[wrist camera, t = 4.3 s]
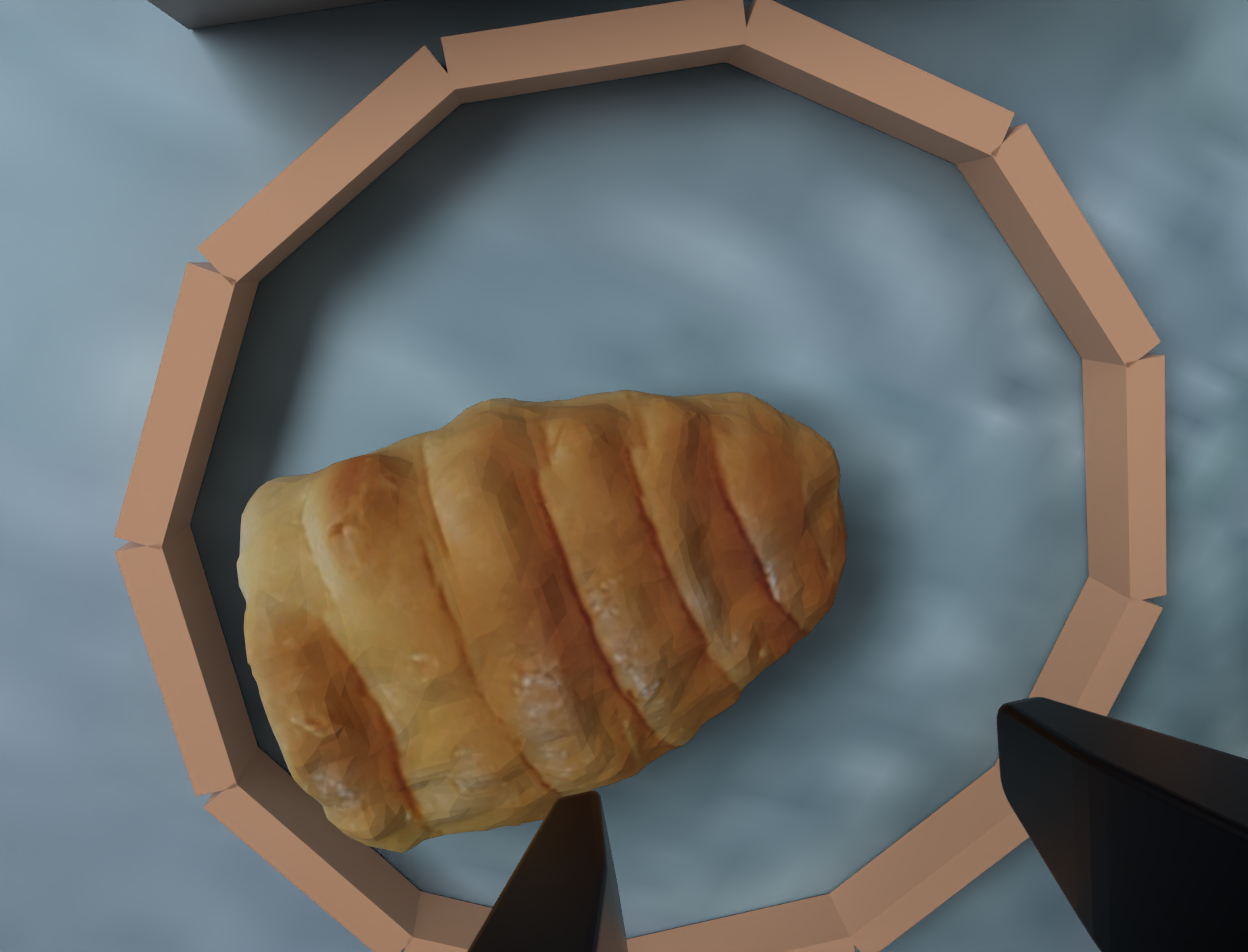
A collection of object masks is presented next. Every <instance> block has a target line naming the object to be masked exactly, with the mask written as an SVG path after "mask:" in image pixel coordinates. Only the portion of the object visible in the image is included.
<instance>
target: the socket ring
mask: <svg viewBox="0 0 1248 952" xmlns="http://www.w3.org/2000/svg"><path fill="white" fill-rule="evenodd" d="M441 41H442V46H443V51H444V56H445V61H446V66H447V71H448V73H447V72H446V71H445V70H444V68H443V67H442V66H441V65H440V64H439V62H438V61H437V60H436V59H435V57H434V56H433V55H432V54H431V52H430V51H429V50H428V49H427V47H426V46H425V45H424V46H423V47H422V48H421V49H419V50H418V51H417V52H416V53H415V54H414V55H413V56H412V57H410V58H409V59H408V60H407V61H406V62H405V63H404V64H403V65H401V66H400V67H399V68H398V69H397V70H396V71H395V72H394V73H392V74H391V75H390V76H389V77H388V78H387V79H386V80H385V81H383V82H382V83H381V84H380V85H379V86H378V87H377V88H376V89H375V90H373V91H372V92H371V93H370V94H369V95H368V96H367V97H366V98H364V99H363V100H362V101H361V102H360V103H359V104H358V105H357V106H355V107H354V108H353V109H352V110H351V111H350V112H349V113H348V114H346V115H345V116H344V117H343V118H342V119H341V120H340V121H339V122H337V123H336V124H335V125H334V126H333V127H332V128H331V129H330V130H328V131H327V132H326V133H325V134H324V135H323V136H322V137H321V138H319V139H318V140H317V141H316V142H315V143H314V144H313V145H312V146H310V147H309V148H308V149H307V150H306V151H305V152H304V153H303V154H302V155H300V156H299V157H298V158H297V159H296V160H295V161H294V162H293V163H291V164H290V165H289V166H288V167H287V168H286V169H285V170H284V171H282V172H281V173H280V174H279V175H278V176H277V177H276V178H275V179H273V180H272V181H271V182H270V183H269V184H268V185H267V186H266V187H264V188H263V189H262V190H261V191H260V192H259V193H258V194H257V195H255V196H254V197H253V198H252V199H251V200H250V201H249V202H248V203H246V204H245V205H244V206H243V207H242V208H241V209H240V210H239V211H237V212H236V213H235V214H234V215H233V216H232V217H231V218H230V219H229V220H227V221H226V222H225V223H224V224H223V225H222V226H221V227H220V228H218V229H217V230H216V231H215V232H214V233H213V234H212V235H211V236H209V237H208V238H207V239H206V240H205V241H204V242H203V243H202V244H200V245H199V246H198V247H197V249H198V250H199V251H200V252H201V253H202V254H203V255H204V257H205V258H206V259H207V260H208V261H209V262H210V263H187V267H186V270H185V274H184V278H183V281H182V285H181V289H180V293H179V296H178V300H177V304H176V308H175V311H174V315H173V319H172V323H171V326H170V330H169V334H168V338H167V341H166V345H165V349H164V353H163V356H162V360H161V364H160V367H159V371H158V375H157V379H156V382H155V386H154V390H153V394H152V397H151V401H150V405H149V409H148V412H147V416H146V420H145V424H144V427H143V431H142V435H141V438H140V442H139V446H138V450H137V453H136V457H135V461H134V465H133V468H132V472H131V476H130V480H129V483H128V487H127V491H126V495H125V498H124V502H123V506H122V510H121V513H120V517H119V521H118V524H117V528H116V532H115V536H114V537H118V538H121V539H125V540H128V541H130V542H128V543H127V544H125V545H124V546H123V547H121V548H120V549H118V550H117V551H116V552H115V554H116V557H117V560H118V563H119V566H120V569H121V572H122V575H123V578H124V581H125V584H126V587H127V590H128V593H129V596H130V599H131V602H132V606H133V609H134V612H135V615H136V618H137V621H138V624H139V627H140V630H141V633H142V636H143V639H144V642H145V645H146V648H147V651H148V654H149V657H150V660H151V663H152V666H153V669H154V672H155V675H156V678H157V681H158V684H159V687H160V690H161V693H162V696H163V699H164V702H165V705H166V708H167V711H168V714H169V717H170V720H171V723H172V726H173V729H174V732H175V735H176V738H177V741H178V744H179V747H180V750H181V753H182V756H183V759H184V762H185V765H186V768H187V771H188V774H189V777H190V780H191V783H192V786H193V789H194V793H195V796H198V795H203V794H208V793H212V795H211V796H210V798H209V800H208V801H207V803H206V805H205V807H204V808H205V809H206V810H207V811H208V812H209V813H211V814H212V815H213V816H214V817H215V818H217V819H218V820H219V821H220V822H221V823H222V824H224V825H225V826H226V827H227V828H228V829H230V830H231V831H232V832H233V833H234V834H235V835H237V836H238V837H239V838H240V839H241V840H242V841H244V842H245V843H246V844H247V845H248V846H250V847H251V848H252V849H253V850H254V851H255V852H257V853H258V854H259V855H260V856H261V857H263V858H264V859H265V860H266V861H267V862H268V863H270V864H271V865H272V866H273V867H274V868H275V869H277V870H278V871H279V872H280V873H281V874H283V875H284V876H285V877H286V878H287V879H288V880H290V881H291V882H292V883H293V884H294V885H296V886H297V887H298V888H299V889H300V890H301V891H303V892H304V893H305V894H306V895H307V896H308V897H310V898H311V899H312V900H313V901H314V902H316V903H317V904H318V905H319V906H320V907H321V908H323V909H324V910H325V911H326V912H327V913H329V914H330V915H331V916H332V917H333V918H334V919H336V920H337V921H338V922H339V923H340V924H341V925H343V926H344V927H345V928H346V929H347V930H349V931H350V932H351V933H352V934H353V935H354V936H356V937H357V938H358V939H359V940H360V941H362V942H363V943H364V944H365V945H366V946H367V947H369V948H370V949H371V950H372V951H373V952H400V951H401V952H467V951H468V949H469V947H470V946H471V944H472V942H473V941H474V939H475V937H476V935H477V934H478V932H479V930H480V929H481V927H482V925H483V923H484V922H485V920H486V918H487V917H488V915H489V913H490V911H491V910H492V908H490V907H485V906H481V905H477V904H473V903H468V902H464V901H460V900H456V899H451V898H447V897H443V896H439V895H434V894H430V893H426V892H422V891H420V890H418V889H417V888H416V887H415V886H414V885H413V884H412V883H411V882H410V881H408V880H407V879H406V878H405V877H404V876H403V875H402V874H401V873H399V872H398V871H397V870H396V869H395V868H394V867H393V866H392V865H390V864H389V863H388V862H387V861H386V860H385V859H384V858H383V857H381V856H380V855H379V854H378V853H377V852H376V851H375V850H374V849H372V848H371V847H370V846H366V845H365V844H363V843H361V842H359V841H356V840H354V839H351V838H350V837H348V836H347V835H345V834H344V833H343V832H342V831H341V830H340V829H338V828H337V827H336V826H335V825H334V824H333V823H331V822H330V821H329V820H328V819H327V817H326V814H325V812H324V809H323V806H322V805H321V804H320V803H319V802H318V801H317V800H316V799H315V798H313V797H312V796H310V795H309V794H308V793H306V792H305V791H304V790H303V789H302V788H301V787H300V786H299V785H298V784H297V783H296V781H295V780H294V779H293V777H292V776H290V775H289V774H288V773H287V772H286V771H285V770H284V769H283V768H281V767H280V766H279V765H278V764H277V763H276V762H275V761H274V760H272V759H271V758H270V757H269V756H268V755H267V754H266V753H265V752H263V751H262V750H261V749H260V748H259V747H258V746H257V743H256V739H255V736H254V733H253V729H252V726H251V723H250V720H249V716H248V713H247V710H246V707H245V703H244V700H243V697H242V694H241V690H240V687H239V684H238V680H237V677H236V674H235V671H234V667H233V664H232V661H231V658H230V654H229V651H228V648H227V644H226V641H225V638H224V635H223V631H222V628H221V625H220V622H219V618H218V615H217V612H216V608H215V605H214V602H213V599H212V595H211V592H210V589H209V586H208V582H207V579H206V576H205V573H204V569H203V566H202V563H201V559H200V556H199V553H198V550H197V546H196V543H195V540H194V537H193V533H192V530H191V527H190V523H191V519H192V516H193V512H194V509H195V505H196V501H197V498H198V494H199V491H200V487H201V484H202V480H203V477H204V473H205V470H206V466H207V463H208V459H209V456H210V452H211V449H212V445H213V442H214V438H215V435H216V431H217V428H218V424H219V421H220V417H221V414H222V410H223V406H224V403H225V399H226V396H227V392H228V389H229V385H230V382H231V378H232V375H233V371H234V368H235V364H236V361H237V357H238V354H239V350H240V347H241V343H242V340H243V336H244V333H245V329H246V326H247V322H248V319H249V315H250V311H251V308H252V304H253V301H254V297H255V294H256V290H257V287H258V283H259V281H260V280H262V279H263V278H264V277H265V276H266V275H267V274H268V273H269V272H271V271H272V270H273V269H274V268H275V267H276V266H277V265H279V264H280V263H281V262H282V261H283V260H284V259H285V258H286V257H288V256H289V255H290V254H291V253H292V252H293V251H294V250H296V249H297V248H298V247H299V246H300V245H301V244H302V243H304V242H305V241H306V240H307V239H308V238H309V237H310V236H311V235H313V234H314V233H315V232H316V231H317V230H318V229H319V228H321V227H322V226H323V225H324V224H325V223H326V222H327V221H328V220H330V219H331V218H332V217H333V216H334V215H335V214H336V213H338V212H339V211H340V210H341V209H342V208H343V207H344V206H346V205H347V204H348V203H349V202H350V201H351V200H352V199H353V198H355V197H356V196H357V195H358V194H359V193H360V192H361V191H363V190H364V189H365V188H366V187H367V186H368V185H369V184H370V183H372V182H373V181H374V180H375V179H376V178H377V177H378V176H380V175H381V174H382V173H383V172H384V171H385V170H386V169H387V168H389V167H390V166H391V165H392V164H393V163H394V162H395V161H397V160H398V159H399V158H400V157H401V156H402V155H403V154H405V153H406V152H407V151H408V150H409V149H410V148H411V147H412V146H414V145H415V144H416V143H417V142H418V141H419V140H420V139H422V138H423V137H424V136H425V135H426V134H427V133H428V132H429V131H431V130H432V129H433V128H434V127H435V126H436V125H437V124H439V123H440V122H441V121H442V120H443V119H444V118H445V117H446V116H448V115H449V114H450V113H451V112H452V111H453V110H454V109H456V108H457V107H458V106H459V105H460V104H463V103H469V102H475V101H482V100H488V99H495V98H501V97H507V96H514V95H520V94H526V93H533V92H539V91H546V90H552V89H558V88H565V87H571V86H577V85H584V84H590V83H596V82H603V81H609V80H616V79H622V78H628V77H635V76H641V75H647V74H654V73H660V72H667V71H673V70H679V69H686V68H692V67H698V66H705V65H711V64H717V63H724V62H727V63H729V64H731V65H733V66H736V67H738V68H740V69H742V70H745V71H747V72H749V73H751V74H754V75H756V76H758V77H760V78H763V79H765V80H767V81H769V82H772V83H774V84H776V85H778V86H781V87H783V88H785V89H787V90H790V91H792V92H794V93H796V94H799V95H801V96H803V97H805V98H808V99H810V100H812V101H814V102H817V103H819V104H821V105H823V106H826V107H828V108H830V109H832V110H835V111H837V112H839V113H841V114H844V115H846V116H848V117H850V118H853V119H855V120H857V121H859V122H862V123H864V124H866V125H868V126H871V127H873V128H875V129H877V130H880V131H882V132H884V133H886V134H889V135H891V136H893V137H895V138H898V139H900V140H902V141H904V142H907V143H909V144H911V145H913V146H915V147H918V148H920V149H922V150H924V151H927V152H929V153H931V154H933V155H936V156H938V157H940V158H942V159H945V160H947V161H949V162H951V163H954V164H956V165H957V167H958V169H959V170H960V172H961V173H962V175H963V176H964V178H965V179H966V181H967V182H968V184H969V185H970V187H971V189H972V190H973V192H974V193H975V195H976V196H977V198H978V199H979V201H980V202H981V204H982V205H983V207H984V209H985V210H986V212H987V213H988V215H989V216H990V218H991V219H992V221H993V222H994V224H995V225H996V227H997V229H998V230H999V232H1000V233H1001V235H1002V236H1003V238H1004V239H1005V241H1006V242H1007V244H1008V245H1009V247H1010V249H1011V250H1012V252H1013V253H1014V255H1015V256H1016V258H1017V259H1018V261H1019V262H1020V264H1021V266H1022V267H1023V269H1024V270H1025V272H1026V273H1027V275H1028V276H1029V278H1030V279H1031V281H1032V282H1033V284H1034V286H1035V287H1036V289H1037V290H1038V292H1039V293H1040V295H1041V296H1042V298H1043V299H1044V301H1045V302H1046V304H1047V306H1048V307H1049V309H1050V310H1051V312H1052V313H1053V315H1054V316H1055V318H1056V319H1057V321H1058V322H1059V324H1060V326H1061V327H1062V329H1063V330H1064V332H1065V333H1066V335H1067V336H1068V338H1069V339H1070V341H1071V342H1072V344H1073V346H1074V347H1075V349H1076V350H1077V352H1078V353H1079V355H1080V356H1081V358H1082V374H1083V406H1084V439H1085V471H1086V503H1087V535H1088V567H1089V577H1088V579H1087V581H1086V583H1085V585H1084V587H1083V589H1082V591H1081V593H1080V595H1079V597H1078V599H1077V601H1076V603H1075V605H1074V607H1073V609H1072V611H1071V613H1070V615H1069V617H1068V619H1067V621H1066V623H1065V625H1064V627H1063V629H1062V631H1061V633H1060V635H1059V637H1058V639H1057V641H1056V643H1055V645H1054V647H1053V649H1052V651H1051V653H1050V655H1049V657H1048V659H1047V661H1046V663H1045V665H1044V667H1043V669H1042V671H1041V673H1040V675H1039V677H1038V679H1037V681H1036V683H1035V685H1034V687H1033V689H1032V691H1031V693H1030V695H1029V697H1028V698H1032V697H1044V698H1048V699H1051V700H1054V701H1058V702H1061V703H1064V704H1067V705H1071V706H1074V707H1077V708H1081V709H1084V710H1087V711H1090V712H1094V713H1097V714H1100V715H1104V716H1107V715H1108V713H1109V711H1110V709H1111V707H1112V705H1113V704H1114V702H1115V700H1116V698H1117V696H1118V694H1119V692H1120V690H1121V688H1122V686H1123V684H1124V682H1125V680H1126V679H1127V677H1128V675H1129V673H1130V671H1131V669H1132V667H1133V665H1134V663H1135V661H1136V659H1137V657H1138V655H1139V653H1140V652H1141V650H1142V648H1143V646H1144V644H1145V642H1146V640H1147V638H1148V636H1149V634H1150V632H1151V630H1152V628H1153V627H1154V625H1155V623H1156V621H1157V619H1158V617H1159V615H1160V613H1161V611H1162V609H1163V608H1162V607H1161V606H1159V605H1157V604H1155V603H1153V602H1151V601H1149V600H1148V599H1149V598H1154V597H1158V596H1163V595H1167V593H1166V450H1165V355H1158V354H1152V353H1148V352H1149V351H1150V350H1151V349H1153V348H1154V347H1155V346H1156V345H1158V344H1159V343H1160V342H1161V341H1160V339H1159V338H1158V336H1157V334H1156V333H1155V331H1154V330H1153V328H1152V326H1151V325H1150V323H1149V321H1148V320H1147V318H1146V317H1145V315H1144V313H1143V312H1142V310H1141V308H1140V307H1139V305H1138V304H1137V302H1136V300H1135V299H1134V297H1133V295H1132V294H1131V292H1130V291H1129V289H1128V287H1127V286H1126V284H1125V282H1124V281H1123V279H1122V278H1121V276H1120V274H1119V273H1118V271H1117V270H1116V268H1115V266H1114V265H1113V263H1112V261H1111V260H1110V258H1109V257H1108V255H1107V253H1106V252H1105V250H1104V248H1103V247H1102V245H1101V244H1100V242H1099V240H1098V239H1097V237H1096V235H1095V234H1094V232H1093V231H1092V229H1091V227H1090V226H1089V224H1088V222H1087V221H1086V219H1085V218H1084V216H1083V214H1082V213H1081V211H1080V209H1079V208H1078V206H1077V205H1076V203H1075V201H1074V200H1073V198H1072V197H1071V195H1070V193H1069V192H1068V190H1067V188H1066V187H1065V185H1064V184H1063V182H1062V180H1061V179H1060V177H1059V175H1058V174H1057V172H1056V171H1055V169H1054V167H1053V166H1052V164H1051V162H1050V161H1049V159H1048V158H1047V156H1046V154H1045V153H1044V151H1043V149H1042V148H1041V146H1040V145H1039V143H1038V141H1037V140H1036V138H1035V136H1034V135H1033V133H1032V132H1031V130H1030V128H1029V127H1028V125H1027V123H1026V124H1022V125H1019V126H1015V127H1011V128H1009V126H1010V123H1011V121H1012V119H1013V116H1014V114H1015V113H1014V112H1012V111H1010V110H1007V109H1005V108H1003V107H1001V106H999V105H997V104H994V103H992V102H990V101H988V100H986V99H984V98H982V97H979V96H977V95H975V94H973V93H971V92H969V91H966V90H964V89H962V88H960V87H958V86H956V85H954V84H951V83H949V82H947V81H945V80H943V79H941V78H938V77H936V76H934V75H932V74H930V73H928V72H926V71H923V70H921V69H919V68H917V67H915V66H913V65H910V64H908V63H906V62H904V61H902V60H900V59H898V58H895V57H893V56H891V55H889V54H887V53H885V52H883V51H880V50H878V49H876V48H874V47H872V46H870V45H867V44H865V43H863V42H861V41H859V40H857V39H855V38H852V37H850V36H848V35H846V34H844V33H842V32H839V31H837V30H835V29H833V28H831V27H829V26H827V25H824V24H822V23H820V22H818V21H816V20H814V19H811V18H809V17H807V16H805V15H803V14H801V13H799V12H796V11H794V10H792V9H790V8H788V7H786V6H783V5H781V4H779V3H777V2H775V1H773V0H753V1H752V3H751V4H750V5H749V6H748V7H747V8H746V9H745V11H744V4H743V0H683V1H676V2H670V3H663V4H657V5H650V6H643V7H637V8H630V9H624V10H617V11H610V12H604V13H597V14H591V15H584V16H577V17H571V18H564V19H558V20H551V21H544V22H538V23H531V24H525V25H518V26H511V27H505V28H498V29H492V30H485V31H478V32H472V33H465V34H459V35H452V36H445V37H441ZM1027 838H1029V835H1028V834H1027V832H1026V830H1025V829H1024V827H1023V825H1022V824H1021V822H1020V821H1019V819H1018V817H1017V816H1016V814H1015V812H1014V811H1013V809H1012V807H1011V806H1010V804H1009V802H1008V800H1007V798H1006V796H1005V794H1004V791H1003V788H1002V784H1001V779H1000V767H999V758H998V760H997V762H996V764H995V766H994V767H992V768H991V769H990V770H988V771H987V772H986V773H985V774H983V775H982V776H981V777H979V778H978V779H977V780H975V781H974V782H973V783H972V784H970V785H969V786H968V787H966V788H965V789H964V790H963V791H961V792H960V793H959V794H957V795H956V796H955V797H953V798H952V799H951V800H950V801H948V802H947V803H946V804H944V805H943V806H942V807H941V808H939V809H938V810H937V811H935V812H934V813H933V814H932V815H930V816H929V817H928V818H926V819H925V820H924V821H922V822H921V823H920V824H919V825H917V826H916V827H915V828H913V829H912V830H911V831H910V832H908V833H907V834H906V835H904V836H903V837H902V838H900V839H899V840H898V841H897V842H895V843H894V844H893V845H891V846H890V847H889V848H888V849H886V850H885V851H884V852H882V853H881V854H880V855H878V856H877V857H876V858H875V859H873V860H872V861H871V862H869V863H868V864H867V865H866V866H864V867H863V868H862V869H860V870H859V871H858V872H856V873H855V874H854V875H853V876H851V877H850V878H849V879H847V880H846V881H845V882H844V883H842V884H841V885H840V886H838V887H837V888H836V889H834V890H833V891H832V892H831V893H829V894H825V895H821V896H816V897H812V898H808V899H803V900H799V901H794V902H790V903H785V904H781V905H777V906H772V907H768V908H763V909H759V910H754V911H750V912H746V913H741V914H737V915H732V916H728V917H723V918H719V919H715V920H710V921H706V922H701V923H697V924H692V925H688V926H684V927H679V928H675V929H670V930H666V931H661V932H657V933H653V934H648V935H644V936H639V937H635V938H630V939H626V941H627V947H628V952H855V948H854V945H855V946H856V948H857V949H858V950H859V951H860V952H879V951H881V950H882V949H883V948H885V947H886V946H887V945H889V944H890V943H891V942H893V941H894V940H895V939H897V938H898V937H899V936H900V935H902V934H903V933H904V932H906V931H907V930H908V929H910V928H911V927H912V926H914V925H915V924H916V923H917V922H919V921H920V920H921V919H923V918H924V917H925V916H927V915H928V914H929V913H931V912H932V911H933V910H934V909H936V908H937V907H938V906H940V905H941V904H942V903H944V902H945V901H946V900H948V899H949V898H950V897H951V896H953V895H954V894H955V893H957V892H958V891H959V890H961V889H962V888H963V887H965V886H966V885H967V884H969V883H970V882H971V881H972V880H974V879H975V878H976V877H978V876H979V875H980V874H982V873H983V872H984V871H986V870H987V869H988V868H989V867H991V866H992V865H993V864H995V863H996V862H997V861H999V860H1000V859H1001V858H1003V857H1004V856H1005V855H1006V854H1008V853H1009V852H1010V851H1012V850H1013V849H1014V848H1016V847H1017V846H1018V845H1020V844H1021V843H1022V842H1024V841H1025V840H1026V839H1027Z"/></svg>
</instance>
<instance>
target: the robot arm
mask: <svg viewBox="0 0 1248 952" xmlns="http://www.w3.org/2000/svg"><path fill="white" fill-rule="evenodd" d="M997 734H998V750H999V767H1000V779H1001V784H1002V788H1003V791H1004V794H1005V796H1006V798H1007V800H1008V802H1009V804H1010V806H1011V807H1012V809H1013V811H1014V812H1015V814H1016V816H1017V817H1018V819H1019V821H1020V822H1021V824H1022V825H1023V827H1024V829H1025V830H1026V832H1027V834H1028V835H1029V837H1030V839H1031V840H1032V842H1033V844H1034V845H1035V847H1036V849H1037V850H1038V852H1039V853H1040V855H1041V857H1042V858H1043V860H1044V862H1045V863H1046V865H1047V867H1048V868H1049V870H1050V872H1051V873H1052V875H1053V877H1054V878H1055V880H1056V882H1057V883H1058V885H1059V886H1060V888H1061V890H1062V891H1063V893H1064V895H1065V896H1066V898H1067V900H1068V901H1069V903H1070V905H1071V906H1072V908H1073V910H1074V911H1075V913H1076V914H1077V916H1078V918H1079V919H1080V921H1081V922H1082V924H1083V925H1084V927H1085V929H1086V930H1087V932H1088V933H1089V935H1090V936H1091V938H1092V939H1093V941H1094V942H1095V944H1096V945H1097V947H1098V948H1099V949H1100V951H1101V952H1248V759H1245V758H1241V757H1238V756H1235V755H1232V754H1228V753H1225V752H1222V751H1218V750H1215V749H1212V748H1209V747H1205V746H1202V745H1199V744H1195V743H1192V742H1189V741H1186V740H1182V739H1179V738H1176V737H1172V736H1169V735H1166V734H1163V733H1159V732H1156V731H1153V730H1149V729H1146V728H1143V727H1140V726H1136V725H1133V724H1130V723H1127V722H1123V721H1120V720H1117V719H1113V718H1110V717H1107V716H1104V715H1100V714H1097V713H1094V712H1090V711H1087V710H1084V709H1081V708H1077V707H1074V706H1071V705H1067V704H1064V703H1061V702H1058V701H1054V700H1051V699H1048V698H1044V697H1032V698H1027V699H1023V700H1018V701H1013V702H1009V703H1005V704H1003V705H1002V706H1001V707H1000V709H999V710H998V714H997ZM467 952H628V947H627V941H626V934H625V928H624V922H623V916H622V910H621V904H620V898H619V892H618V886H617V880H616V874H615V869H614V863H613V858H612V853H611V848H610V843H609V838H608V832H607V827H606V822H605V817H604V812H603V807H602V802H601V798H600V795H599V794H598V793H597V792H596V791H587V792H583V793H578V794H573V795H568V796H563V797H560V798H558V799H557V800H556V801H555V802H554V804H553V805H552V807H551V809H550V811H549V812H548V814H547V816H546V817H545V819H544V821H543V823H542V824H541V826H540V828H539V829H538V831H537V833H536V835H535V836H534V838H533V840H532V841H531V843H530V845H529V846H528V848H527V850H526V852H525V853H524V855H523V857H522V858H521V860H520V862H519V864H518V865H517V867H516V869H515V870H514V872H513V874H512V876H511V877H510V879H509V881H508V882H507V884H506V886H505V888H504V889H503V891H502V893H501V894H500V896H499V898H498V900H497V901H496V903H495V905H494V906H493V908H492V910H491V911H490V913H489V915H488V917H487V918H486V920H485V922H484V923H483V925H482V927H481V929H480V930H479V932H478V934H477V935H476V937H475V939H474V941H473V942H472V944H471V946H470V947H469V949H468V951H467Z"/></svg>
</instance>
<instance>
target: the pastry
mask: <svg viewBox="0 0 1248 952" xmlns="http://www.w3.org/2000/svg"><path fill="white" fill-rule="evenodd" d="M839 483H840V468H839V464H838V461H837V458H836V455H835V452H834V449H833V448H832V446H831V444H830V443H829V442H828V441H827V440H826V439H824V438H823V437H822V436H821V435H819V434H818V433H817V432H816V431H815V430H813V429H812V428H810V427H808V426H806V425H804V424H802V423H800V422H798V421H796V420H795V419H793V418H792V417H790V416H788V415H786V414H784V413H782V412H779V411H777V410H776V409H775V408H773V407H772V406H771V405H769V404H768V403H766V402H764V401H763V400H761V399H759V398H757V397H755V396H753V395H751V394H749V393H741V392H730V393H720V394H703V395H695V396H691V395H686V396H677V397H672V396H664V395H657V394H649V393H644V392H639V391H632V390H620V391H616V392H605V393H597V394H591V395H585V396H581V397H578V398H575V399H570V400H555V401H546V402H530V401H519V400H516V399H509V398H501V399H490V400H486V401H482V402H480V403H477V404H475V405H473V406H471V407H469V408H467V409H465V410H464V411H463V412H462V413H461V414H460V415H458V416H457V417H456V418H455V419H454V420H453V421H451V422H450V423H448V424H447V425H445V426H444V427H442V428H441V429H439V430H435V431H429V432H425V433H421V434H418V435H414V436H411V437H408V438H405V439H402V440H400V441H398V442H396V443H394V444H392V445H390V446H388V447H385V448H381V449H379V450H376V451H374V452H372V453H369V454H366V455H362V456H358V457H353V458H350V459H347V460H344V461H341V462H337V463H334V464H332V465H330V466H329V467H327V468H325V469H322V470H320V471H317V472H315V473H312V474H305V475H295V476H282V477H278V478H275V479H272V480H269V481H267V482H266V483H265V484H263V485H262V486H261V487H259V488H258V489H257V491H256V492H255V493H254V494H253V496H252V497H251V498H250V500H249V501H248V503H247V505H246V508H245V510H244V512H243V514H242V516H241V530H240V556H239V558H238V561H237V573H238V580H239V587H240V589H241V591H242V593H243V595H244V598H245V600H246V606H247V607H246V611H245V615H244V636H245V645H246V654H247V662H248V664H249V665H250V666H251V669H252V675H253V677H254V678H255V680H256V682H257V685H258V689H259V694H260V697H261V700H262V703H263V706H264V709H265V712H266V715H267V718H268V720H269V723H270V725H271V728H272V731H273V733H274V735H275V737H276V740H277V742H278V744H279V746H280V749H281V751H282V754H283V756H284V759H285V762H286V764H287V767H288V769H289V771H290V773H291V775H292V777H293V779H294V780H295V781H296V783H297V784H298V785H299V786H300V787H301V788H302V789H303V790H304V791H305V792H306V793H308V794H309V795H310V796H312V797H313V798H315V799H316V800H317V801H318V802H319V803H320V804H321V805H322V806H323V809H324V812H325V814H326V817H327V819H328V820H329V821H330V822H331V823H333V824H334V825H335V826H336V827H337V828H338V829H340V830H341V831H342V832H343V833H344V834H345V835H347V836H348V837H350V838H351V839H354V840H356V841H359V842H361V843H363V844H365V845H366V846H371V847H376V848H381V849H385V850H390V851H394V852H399V853H403V852H405V851H408V850H410V849H412V848H413V847H415V846H416V845H417V844H419V843H420V842H422V841H423V840H426V839H430V838H434V837H438V836H442V835H447V834H455V833H463V832H471V831H486V830H490V829H493V828H497V827H502V826H519V825H520V824H522V823H527V822H532V821H537V820H542V819H544V818H545V817H546V816H547V814H548V812H549V811H550V809H551V807H552V805H553V804H554V802H555V801H556V800H557V799H558V798H560V797H563V796H568V795H573V794H578V793H583V792H587V791H592V790H594V789H596V788H599V787H602V786H606V785H610V784H613V783H616V782H618V781H620V780H622V779H625V778H629V777H632V776H634V775H636V774H638V773H639V772H640V771H641V770H642V769H643V768H644V767H645V766H646V765H647V764H649V763H650V762H652V761H653V760H655V759H656V758H658V757H659V756H661V755H663V754H664V753H666V752H668V751H670V750H672V749H675V748H677V747H680V746H682V745H684V744H685V743H687V742H688V741H689V740H690V739H691V738H693V736H694V735H695V734H696V732H697V731H698V730H699V729H700V727H701V726H702V725H703V724H704V723H705V722H706V721H707V720H709V719H711V718H713V717H715V716H717V715H718V714H720V713H721V712H723V711H724V710H726V709H727V708H729V707H730V706H731V705H733V704H734V703H735V702H736V701H737V699H738V698H739V696H740V694H741V693H742V691H743V689H744V687H745V686H746V685H747V684H748V683H750V682H751V681H752V680H754V679H755V678H756V677H757V676H758V675H759V674H760V673H761V672H762V671H763V670H764V669H765V668H767V667H768V666H770V665H771V664H773V663H774V662H775V661H777V660H778V659H779V658H780V657H782V656H783V655H785V654H787V653H788V652H789V651H790V650H791V648H792V647H793V645H794V644H795V643H797V642H798V641H799V640H801V639H802V638H804V637H805V636H807V635H808V634H809V633H810V632H811V631H812V630H813V629H814V627H815V626H816V625H817V623H818V622H819V621H820V620H821V619H822V617H823V616H824V615H825V614H826V613H827V612H828V611H829V610H830V609H831V607H832V605H833V603H834V599H835V595H836V592H837V588H838V585H839V581H840V578H841V574H842V571H843V568H844V565H845V562H846V545H845V543H846V539H847V534H846V528H845V522H844V514H843V505H842V501H841V498H840V494H839Z"/></svg>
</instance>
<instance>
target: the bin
mask: <svg viewBox="0 0 1248 952" xmlns="http://www.w3.org/2000/svg"><path fill="white" fill-rule="evenodd" d="M148 1H149V2H150V3H152V4H153V5H155V6H156V7H158V8H159V9H160V10H162V11H163V12H165V13H166V14H168V15H169V16H170V17H172V18H173V19H175V20H176V21H178V22H179V23H180V24H182V25H183V26H185V27H186V28H188V29H195V28H202V27H209V26H216V25H222V24H229V23H236V22H243V21H249V20H256V19H263V18H270V17H276V16H283V15H290V14H297V13H303V12H310V11H317V10H324V9H331V8H337V7H344V6H351V5H358V4H364V3H371V2H378V1H385V0H148Z"/></svg>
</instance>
